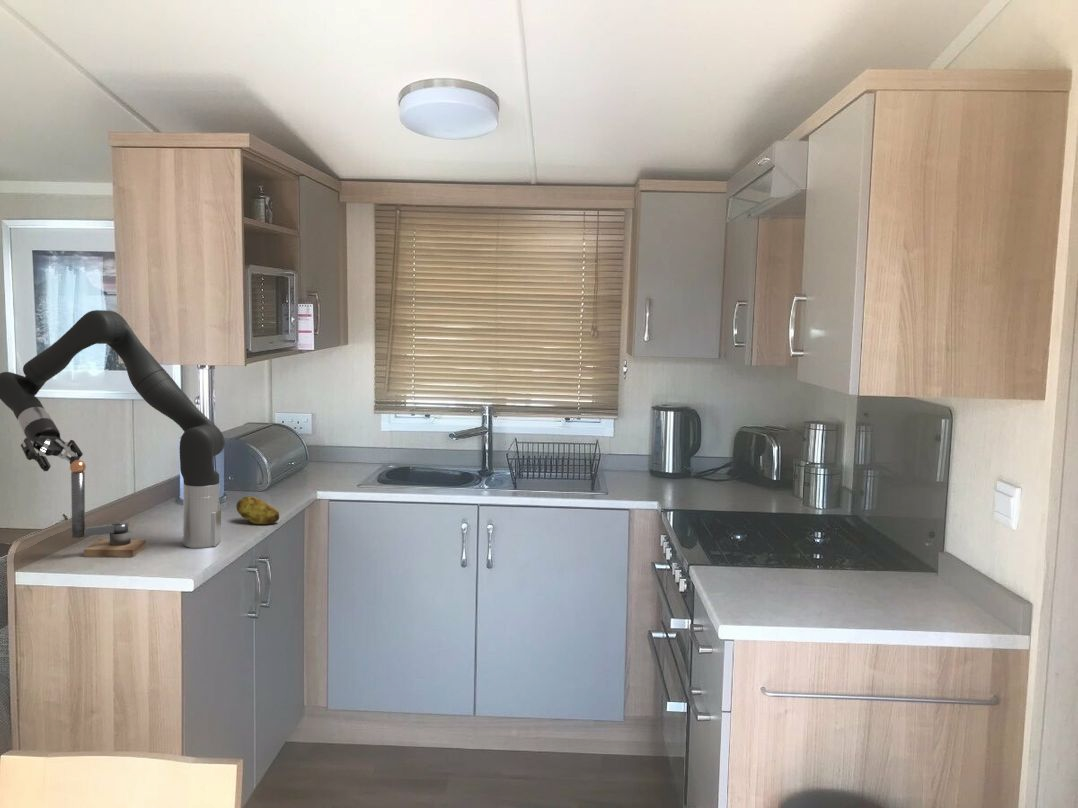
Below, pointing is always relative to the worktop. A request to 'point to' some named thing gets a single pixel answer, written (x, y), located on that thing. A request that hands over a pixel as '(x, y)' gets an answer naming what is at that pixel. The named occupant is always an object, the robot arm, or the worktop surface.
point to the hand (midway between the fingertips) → (63, 469)
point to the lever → (79, 507)
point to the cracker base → (115, 546)
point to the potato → (257, 511)
